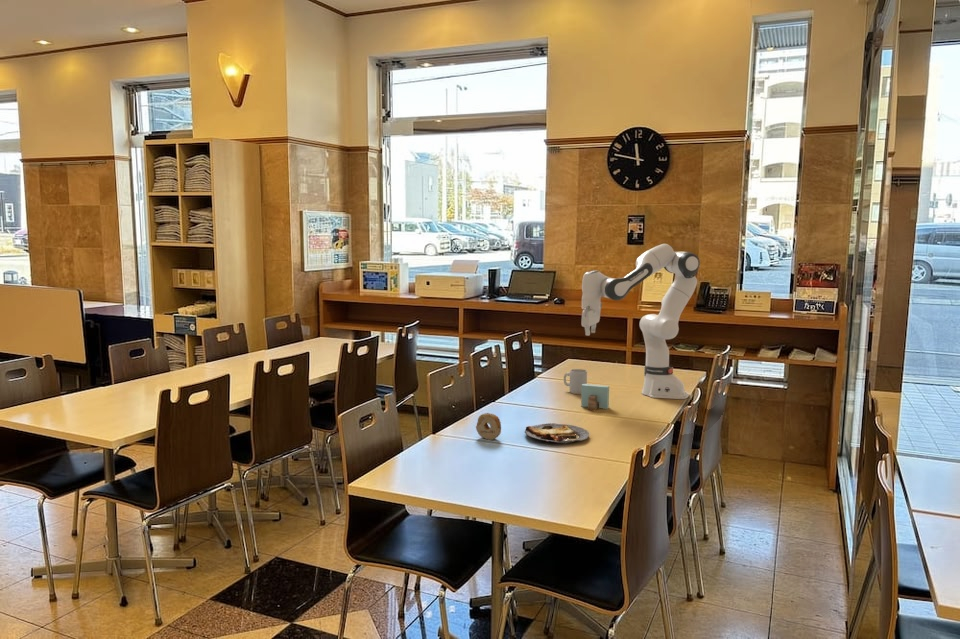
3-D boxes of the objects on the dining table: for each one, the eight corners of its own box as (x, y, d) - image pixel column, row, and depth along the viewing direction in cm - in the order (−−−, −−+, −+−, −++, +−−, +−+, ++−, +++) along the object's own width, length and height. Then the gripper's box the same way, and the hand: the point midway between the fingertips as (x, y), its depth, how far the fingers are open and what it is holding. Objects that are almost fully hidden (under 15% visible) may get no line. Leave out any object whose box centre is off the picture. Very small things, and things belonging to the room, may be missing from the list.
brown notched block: (595, 403, 321) (595, 391, 320) (601, 404, 320) (601, 391, 319) (588, 409, 310) (588, 396, 310) (594, 410, 309) (595, 397, 308)
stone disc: (503, 439, 266) (503, 414, 265) (497, 441, 263) (498, 416, 262) (480, 435, 272) (480, 410, 270) (475, 437, 269) (475, 412, 267)
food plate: (536, 447, 255) (536, 438, 255) (516, 431, 278) (516, 422, 277) (598, 444, 262) (598, 435, 262) (574, 428, 284) (574, 420, 284)
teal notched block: (608, 407, 314) (609, 386, 313) (607, 409, 311) (607, 387, 310) (582, 405, 319) (583, 383, 318) (581, 406, 316) (581, 385, 315)
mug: (589, 391, 346) (589, 369, 345) (583, 395, 339) (583, 373, 338) (566, 388, 352) (567, 367, 351) (560, 392, 345) (560, 370, 343)
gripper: (591, 307, 316) (591, 337, 318) (602, 303, 335) (602, 331, 336) (578, 306, 319) (577, 336, 320) (590, 302, 337) (589, 331, 339)
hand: (590, 334), depth 329 cm, fingers open, 8 cm apart
